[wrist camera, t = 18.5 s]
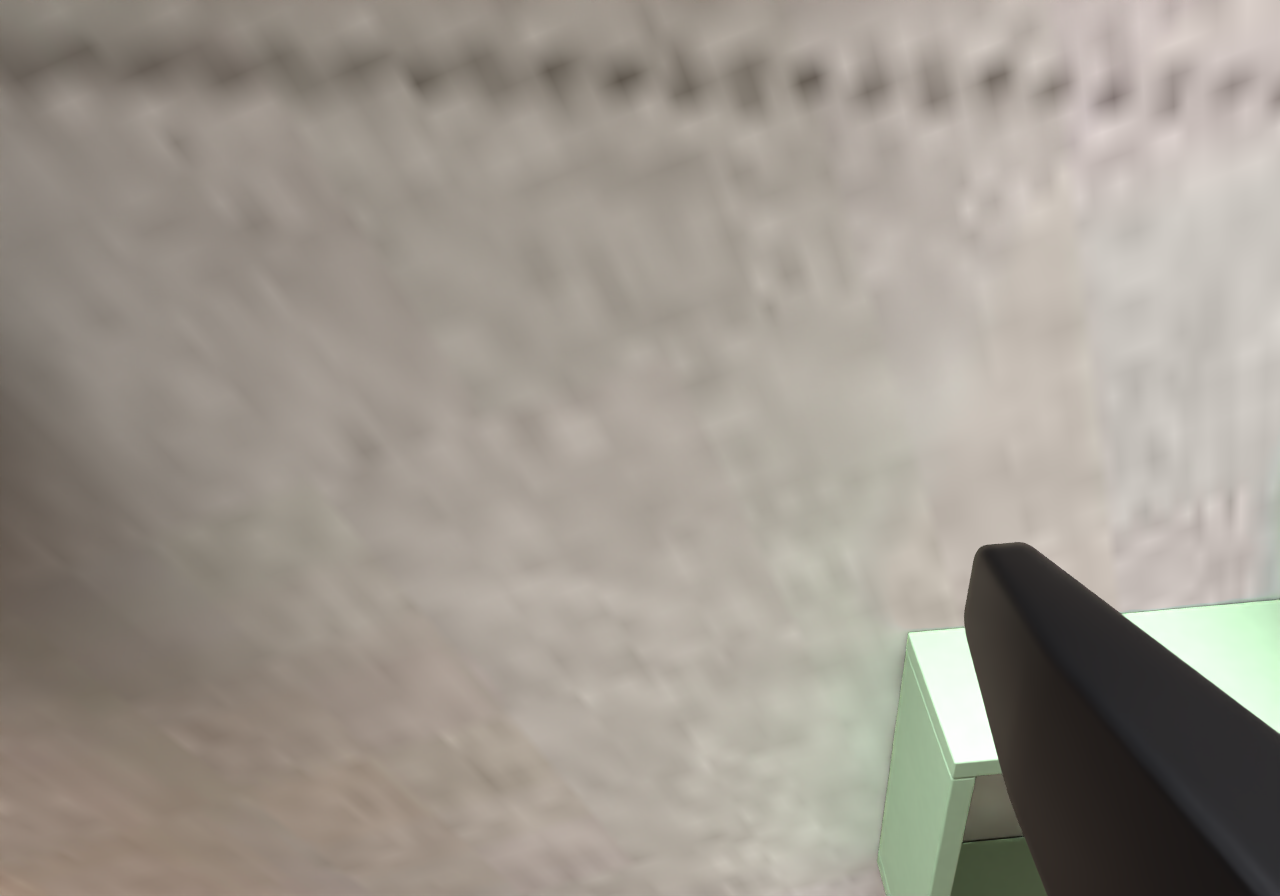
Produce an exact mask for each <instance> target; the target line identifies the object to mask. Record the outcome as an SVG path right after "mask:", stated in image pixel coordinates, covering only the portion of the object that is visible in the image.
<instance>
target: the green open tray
mask: <svg viewBox="0 0 1280 896" xmlns="http://www.w3.org/2000/svg"><path fill="white" fill-rule="evenodd" d="M1122 615H1123V616H1125V617H1126V618H1127V619H1129V620H1130V621H1131V622H1133V623H1134V624H1135V625H1137V626H1138V627H1139V628H1141V629H1142V630H1143V631H1145V632H1146V633H1147V634H1149V635H1150V636H1151V637H1152V638H1154V639H1155V640H1156V641H1158V642H1159V643H1160V644H1162V645H1163V646H1164V647H1166V648H1167V649H1168V650H1170V651H1171V652H1172V653H1174V654H1175V655H1176V656H1178V657H1179V658H1180V659H1182V660H1183V661H1184V662H1186V663H1187V664H1188V665H1190V666H1191V667H1192V668H1193V669H1195V670H1196V671H1197V672H1199V673H1200V674H1201V675H1203V676H1204V677H1205V678H1207V679H1208V680H1209V681H1211V682H1212V683H1213V684H1215V685H1216V686H1217V687H1219V688H1220V689H1221V690H1223V691H1224V692H1225V693H1227V694H1228V695H1229V696H1231V697H1232V698H1233V699H1234V700H1236V701H1237V702H1238V703H1240V704H1241V705H1242V706H1244V707H1245V708H1246V709H1248V710H1249V711H1250V712H1252V713H1253V714H1254V715H1256V716H1257V717H1258V718H1260V719H1261V720H1262V721H1264V722H1265V723H1266V724H1268V725H1269V726H1270V727H1272V728H1273V729H1274V730H1276V731H1277V732H1278V733H1279V734H1280V600H1271V601H1259V602H1248V603H1237V604H1225V605H1214V606H1203V607H1192V608H1180V609H1169V610H1158V611H1147V612H1135V613H1124V614H1122ZM906 649H907V650H906V654H905V662H904V669H903V676H902V684H901V691H900V698H899V705H898V713H897V720H896V727H895V735H894V742H893V749H892V756H891V764H890V771H889V778H888V785H887V793H886V800H885V807H884V815H883V822H882V829H881V836H880V844H879V852H878V858H877V863H878V867H879V871H880V874H881V878H882V882H883V886H884V889H885V893H886V896H1047V893H1046V891H1045V888H1044V886H1043V883H1042V881H1041V878H1040V876H1039V873H1038V871H1037V868H1036V865H1035V863H1034V860H1033V858H1032V855H1031V853H1030V850H1029V848H1028V845H1027V842H1026V840H1025V837H1018V838H1008V839H997V840H986V841H975V842H965V843H962V840H963V835H964V831H965V826H966V821H967V817H968V812H969V808H970V803H971V798H972V794H973V789H974V784H975V780H976V776H983V775H994V774H1002V771H1001V767H1000V764H999V760H998V756H997V752H996V748H995V745H994V741H993V737H992V733H991V729H990V726H989V722H988V718H987V714H986V710H985V707H984V703H983V699H982V695H981V691H980V688H979V684H978V680H977V676H976V672H975V669H974V665H973V661H972V657H971V653H970V649H969V646H968V642H967V638H966V632H965V628H955V629H944V630H932V631H921V632H910V633H908V638H907V645H906Z"/></svg>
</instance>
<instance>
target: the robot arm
mask: <svg viewBox="0 0 1280 896" xmlns="http://www.w3.org/2000/svg"><path fill="white" fill-rule="evenodd" d="M964 624H965V632H966V638H967V642H968V646H969V649H970V653H971V657H972V661H973V665H974V669H975V672H976V676H977V680H978V684H979V688H980V691H981V695H982V699H983V703H984V707H985V710H986V714H987V718H988V722H989V726H990V729H991V733H992V737H993V741H994V745H995V748H996V752H997V756H998V760H999V764H1000V767H1001V771H1002V774H1003V778H1004V781H1005V785H1006V788H1007V792H1008V795H1009V797H1010V800H1011V803H1012V806H1013V809H1014V811H1015V814H1016V817H1017V820H1018V822H1019V825H1020V827H1021V830H1022V832H1023V835H1024V837H1025V840H1026V842H1027V845H1028V848H1029V850H1030V853H1031V855H1032V858H1033V860H1034V863H1035V865H1036V868H1037V871H1038V873H1039V876H1040V878H1041V881H1042V883H1043V886H1044V888H1045V891H1046V893H1047V896H1280V734H1279V733H1278V732H1277V731H1276V730H1274V729H1273V728H1272V727H1270V726H1269V725H1268V724H1266V723H1265V722H1264V721H1262V720H1261V719H1260V718H1258V717H1257V716H1256V715H1254V714H1253V713H1252V712H1250V711H1249V710H1248V709H1246V708H1245V707H1244V706H1242V705H1241V704H1240V703H1238V702H1237V701H1236V700H1234V699H1233V698H1232V697H1231V696H1229V695H1228V694H1227V693H1225V692H1224V691H1223V690H1221V689H1220V688H1219V687H1217V686H1216V685H1215V684H1213V683H1212V682H1211V681H1209V680H1208V679H1207V678H1205V677H1204V676H1203V675H1201V674H1200V673H1199V672H1197V671H1196V670H1195V669H1193V668H1192V667H1191V666H1190V665H1188V664H1187V663H1186V662H1184V661H1183V660H1182V659H1180V658H1179V657H1178V656H1176V655H1175V654H1174V653H1172V652H1171V651H1170V650H1168V649H1167V648H1166V647H1164V646H1163V645H1162V644H1160V643H1159V642H1158V641H1156V640H1155V639H1154V638H1152V637H1151V636H1150V635H1149V634H1147V633H1146V632H1145V631H1143V630H1142V629H1141V628H1139V627H1138V626H1137V625H1135V624H1134V623H1133V622H1131V621H1130V620H1129V619H1127V618H1126V617H1125V616H1123V615H1122V614H1121V613H1119V612H1118V611H1117V610H1115V609H1114V608H1113V607H1111V606H1110V605H1109V604H1107V603H1106V602H1105V601H1104V600H1102V599H1101V598H1100V597H1098V596H1097V595H1096V594H1094V593H1093V592H1092V591H1090V590H1089V589H1088V588H1086V587H1085V586H1084V585H1082V584H1081V583H1080V582H1078V581H1077V580H1076V579H1074V578H1073V577H1072V576H1070V575H1069V574H1068V573H1066V572H1065V571H1064V570H1063V569H1061V568H1060V567H1059V566H1057V565H1056V564H1055V563H1053V562H1052V561H1051V560H1049V559H1048V558H1047V557H1045V556H1044V555H1043V554H1041V553H1040V552H1039V551H1037V550H1036V549H1035V548H1033V547H1032V546H1030V545H1028V544H1026V543H1021V542H1015V543H1003V544H991V545H985V546H982V547H980V548H979V549H978V551H977V552H976V554H975V557H974V561H973V566H972V572H971V578H970V583H969V589H968V594H967V600H966V605H965V612H964Z"/></svg>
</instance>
